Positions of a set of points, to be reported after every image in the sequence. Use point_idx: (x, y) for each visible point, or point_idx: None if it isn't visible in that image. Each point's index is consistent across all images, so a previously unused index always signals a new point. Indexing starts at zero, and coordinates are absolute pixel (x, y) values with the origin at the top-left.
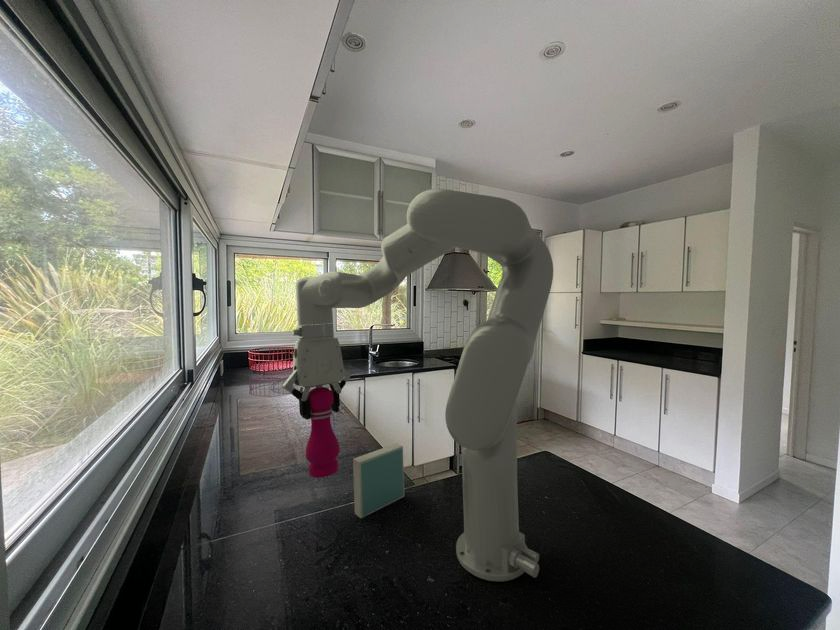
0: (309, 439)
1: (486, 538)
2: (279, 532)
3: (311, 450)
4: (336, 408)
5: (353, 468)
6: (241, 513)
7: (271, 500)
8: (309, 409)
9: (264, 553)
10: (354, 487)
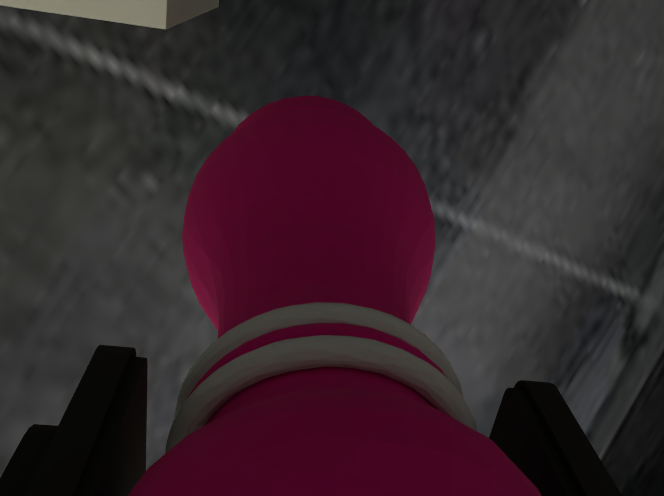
0: (413, 318)
1: None
2: (490, 156)
3: (432, 225)
4: (124, 381)
5: (179, 20)
6: (498, 369)
7: None
8: (576, 465)
9: (592, 85)
10: (199, 8)
